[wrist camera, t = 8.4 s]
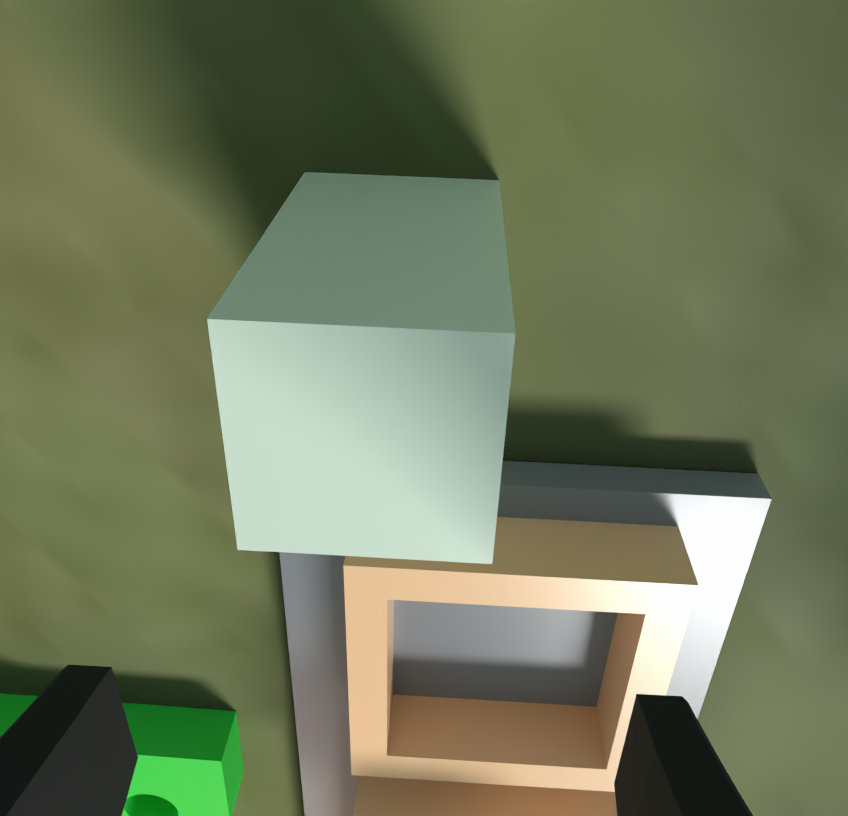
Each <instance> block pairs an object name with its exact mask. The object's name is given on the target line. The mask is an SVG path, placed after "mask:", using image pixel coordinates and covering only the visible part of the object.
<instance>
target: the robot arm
mask: <svg viewBox="0 0 848 816" xmlns="http://www.w3.org/2000/svg"><path fill="white" fill-rule="evenodd" d="M137 759H138V755H137V752H136V749H135V745H134V742H133V738H132V735H131V732H130V728H129V725H128V721H127V718H126V715H125V711H124V708H123V704H122V701H121V698H120V694H119V691H118V687H117V684H116V681H115V677H114V674H113V670H112V667H99V666H80V665H68V666H66V667H65V668H64V669H63V670H62V671H61V672H60V673H59V674H58V675H57V676H56V677H55V678H54V679H53V681H52V682H51V683H50V684H49V685H48V686H47V687H46V688H45V689H44V690H43V691H42V692H41V694H40V695H39V696H38V697H37V698H36V699H35V700H34V701H33V702H32V703H31V705H30V706H29V707H28V708H27V709H26V710H25V711H24V712H23V713H22V714H21V715H20V717H19V718H18V719H17V720H16V721H15V722H14V723H13V724H12V725H11V726H10V727H9V728H8V730H7V731H6V732H5V733H4V734H3V735H2V736H1V737H0V816H122V813H123V809H124V806H125V803H126V799H127V796H128V792H129V788H130V785H131V781H132V778H133V774H134V770H135V767H136V763H137ZM614 788H615V798H616V808H617V816H753V815H752V813H751V812H750V810H749V808H748V807H747V805H746V804H745V802H744V800H743V799H742V797H741V795H740V793H739V792H738V790H737V788H736V787H735V785H734V783H733V782H732V780H731V778H730V777H729V775H728V773H727V772H726V770H725V768H724V766H723V765H722V763H721V761H720V759H719V758H718V756H717V754H716V752H715V751H714V749H713V747H712V745H711V743H710V742H709V740H708V738H707V736H706V734H705V733H704V731H703V729H702V727H701V725H700V723H699V722H698V720H697V718H696V716H695V714H694V712H693V710H692V708H691V706H690V705H689V703H688V702H687V701H686V700H685V699H684V698H683V697H682V696H667V695H648V694H636V698H635V702H634V706H633V710H632V714H631V718H630V722H629V726H628V730H627V734H626V738H625V742H624V746H623V750H622V754H621V758H620V762H619V766H618V770H617V774H616V778H615V782H614Z"/></svg>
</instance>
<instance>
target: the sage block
mask: <svg viewBox="0 0 848 816" xmlns="http://www.w3.org/2000/svg"><path fill="white" fill-rule="evenodd" d="M207 321H208V329H209V337H210V344H211V352H212V359H213V367H214V374H215V382H216V389H217V397H218V404H219V412H220V420H221V427H222V435H223V442H224V450H225V457H226V465H227V472H228V480H229V487H230V495H231V503H232V510H233V518H234V525H235V533H236V540H237V548H238V550H251V551H269V552H287V553H304V554H322V555H340V556H357V557H375V558H393V559H410V560H428V561H446V562H464V563H481V564H492V562H493V552H494V542H495V532H496V522H497V512H498V502H499V492H500V482H501V472H502V462H503V452H504V442H505V432H506V422H507V412H508V402H509V392H510V382H511V372H512V362H513V352H514V342H515V326H514V317H513V307H512V298H511V288H510V279H509V270H508V260H507V251H506V241H505V232H504V222H503V213H502V204H501V194H500V185H499V180H481V179H457V178H434V177H410V176H386V175H362V174H338V173H315V172H304V174H303V175H302V177H301V178H300V180H299V181H298V183H297V184H296V186H295V187H294V189H293V190H292V192H291V193H290V195H289V196H288V198H287V199H286V201H285V202H284V204H283V205H282V207H281V208H280V210H279V211H278V213H277V214H276V216H275V218H274V219H273V221H272V222H271V224H270V225H269V227H268V228H267V230H266V231H265V233H264V234H263V236H262V237H261V239H260V240H259V242H258V243H257V245H256V246H255V248H254V249H253V251H252V252H251V254H250V255H249V257H248V258H247V260H246V261H245V263H244V264H243V266H242V267H241V269H240V270H239V272H238V273H237V275H236V276H235V278H234V279H233V281H232V282H231V284H230V285H229V287H228V288H227V290H226V291H225V293H224V294H223V296H222V297H221V299H220V300H219V302H218V303H217V305H216V306H215V308H214V309H213V311H212V312H211V314H210V315H209V317H208V318H207Z"/></svg>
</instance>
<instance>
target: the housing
mask: <svg viewBox="0 0 848 816" xmlns="http://www.w3.org/2000/svg"><path fill="white" fill-rule="evenodd" d="M770 502H771V497H770V495H769V493H768V491H767V489H766V487H765V486H764V484H763V482H762V480H761V478H760V476H759V474H754V473H735V472H716V471H696V470H677V469H657V468H638V467H619V466H599V465H580V464H561V463H541V462H522V461H503V462H502V472H501V482H500V492H499V502H498V512H497V522H496V532H495V542H494V552H493V562H492V564H481V563H464V562H446V561H428V560H410V559H393V558H375V557H357V556H340V555H322V554H304V553H287V552H279V554H280V564H281V574H282V585H283V595H284V606H285V616H286V626H287V637H288V647H289V657H290V668H291V678H292V688H293V699H294V709H295V719H296V730H297V740H298V750H299V761H300V771H301V782H302V792H303V802H304V813H305V816H617V808H616V798H615V788H614V782H615V778H616V774H617V770H618V766H619V762H620V758H621V754H622V750H623V746H624V742H625V738H626V734H627V730H628V726H629V722H630V718H631V714H632V710H633V706H634V702H635V698H636V694H648V695H667V696H682V697H683V698H684V699H685V700H686V701H687V702H688V703H689V705H690V706H691V708H692V710H693V712H694V714H695V716H696V718H697V719H698V716H699V713H700V710H701V707H702V704H703V701H704V698H705V695H706V692H707V689H708V686H709V683H710V680H711V677H712V674H713V671H714V668H715V665H716V662H717V659H718V656H719V653H720V650H721V647H722V644H723V641H724V638H725V635H726V632H727V630H728V627H729V624H730V621H731V618H732V615H733V612H734V609H735V606H736V603H737V600H738V597H739V594H740V591H741V588H742V585H743V582H744V579H745V576H746V573H747V570H748V567H749V564H750V561H751V558H752V555H753V552H754V549H755V546H756V543H757V540H758V537H759V534H760V531H761V529H762V526H763V523H764V520H765V517H766V514H767V511H768V508H769V505H770Z"/></svg>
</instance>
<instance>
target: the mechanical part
mask: <svg viewBox="0 0 848 816" xmlns="http://www.w3.org/2000/svg"><path fill="white" fill-rule="evenodd" d="M37 697H38V696H30V695H17V694H4V693H0V737H1V736H2V735H3V734H4V733H5V732H6V731H7V730H8V728H9V727H10V726H11V725H12V724H13V723H14V722H15V721H16V720H17V719H18V718H19V717H20V715H21V714H22V713H23V712H24V711H25V710H26V709H27V708H28V707H29V706H30V705H31V703H32V702H33V701H34V700H35V699H36V698H37ZM122 704H123V708H124V711H125V715H126V718H127V721H128V725H129V728H130V732H131V735H132V738H133V742H134V745H135V749H136V752H137V755H138V759H137V763H136V767H135V770H134V774H133V778H132V781H131V785H130V788H129V792H128V796H127V799H126V803H125V806H124V809H123V813H122V816H232V814H233V810H234V806H235V803H236V799H237V795H238V791H239V788H240V784H241V780H242V776H243V762H242V754H241V746H240V738H239V729H238V721H237V713H236V711H226V710H213V709H200V708H187V707H174V706H161V705H148V704H135V703H122Z"/></svg>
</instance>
